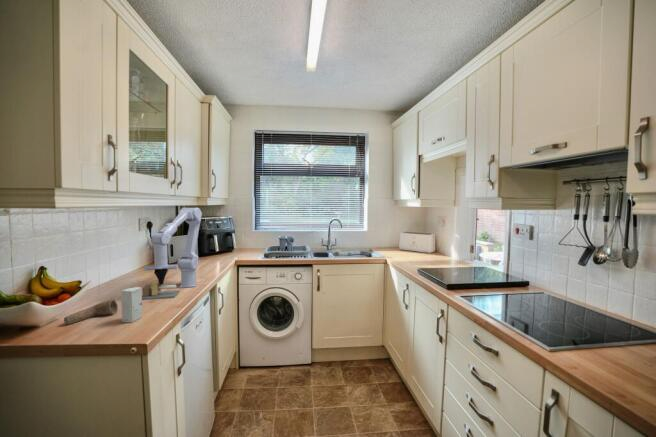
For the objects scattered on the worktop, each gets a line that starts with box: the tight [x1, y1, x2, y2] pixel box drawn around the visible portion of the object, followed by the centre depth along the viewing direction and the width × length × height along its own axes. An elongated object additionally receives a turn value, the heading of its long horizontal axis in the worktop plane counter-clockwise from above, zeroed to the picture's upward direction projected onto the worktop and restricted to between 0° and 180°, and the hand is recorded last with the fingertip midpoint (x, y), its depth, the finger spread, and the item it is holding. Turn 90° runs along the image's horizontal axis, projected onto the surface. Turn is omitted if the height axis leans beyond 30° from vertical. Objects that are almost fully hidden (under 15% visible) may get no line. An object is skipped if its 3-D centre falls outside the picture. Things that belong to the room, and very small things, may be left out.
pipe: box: [63, 298, 119, 326], centre depth 114 cm, size 6×17×10 cm
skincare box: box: [120, 286, 143, 323], centre depth 113 cm, size 6×4×12 cm
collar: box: [151, 279, 162, 296], centre depth 143 cm, size 2×6×6 cm, turn 15°
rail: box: [142, 284, 180, 301], centre depth 143 cm, size 15×10×5 cm, turn 105°
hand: (161, 284), depth 143 cm, fingers closed
